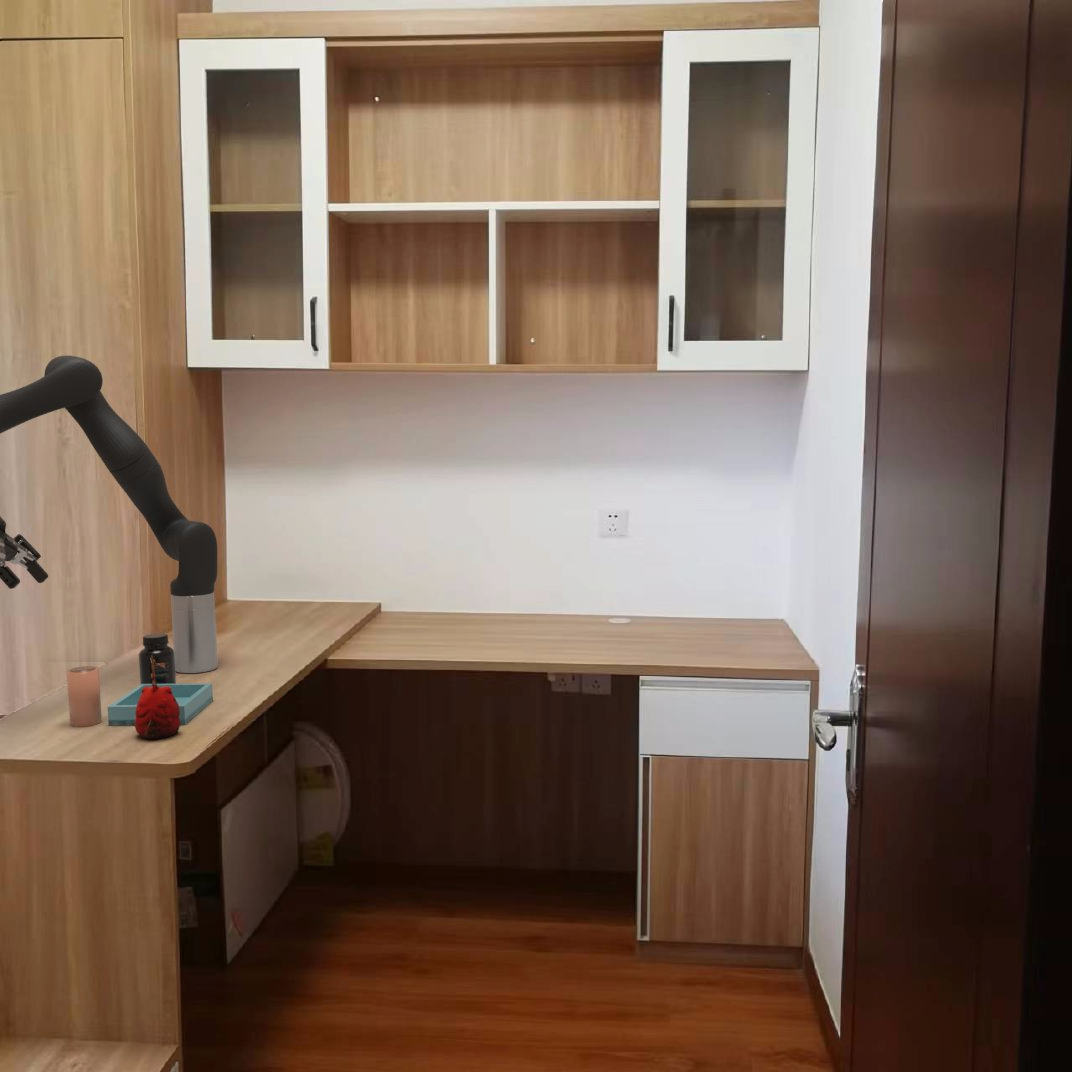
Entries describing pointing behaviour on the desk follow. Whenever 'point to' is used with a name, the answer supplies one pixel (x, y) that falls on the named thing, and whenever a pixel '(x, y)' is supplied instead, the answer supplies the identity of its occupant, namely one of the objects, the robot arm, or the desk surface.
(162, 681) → the supplement bottle
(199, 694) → the teal tray
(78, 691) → the terracotta cup
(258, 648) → the desk surface
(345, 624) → the desk surface
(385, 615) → the desk surface
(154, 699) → the red clay folk toy
